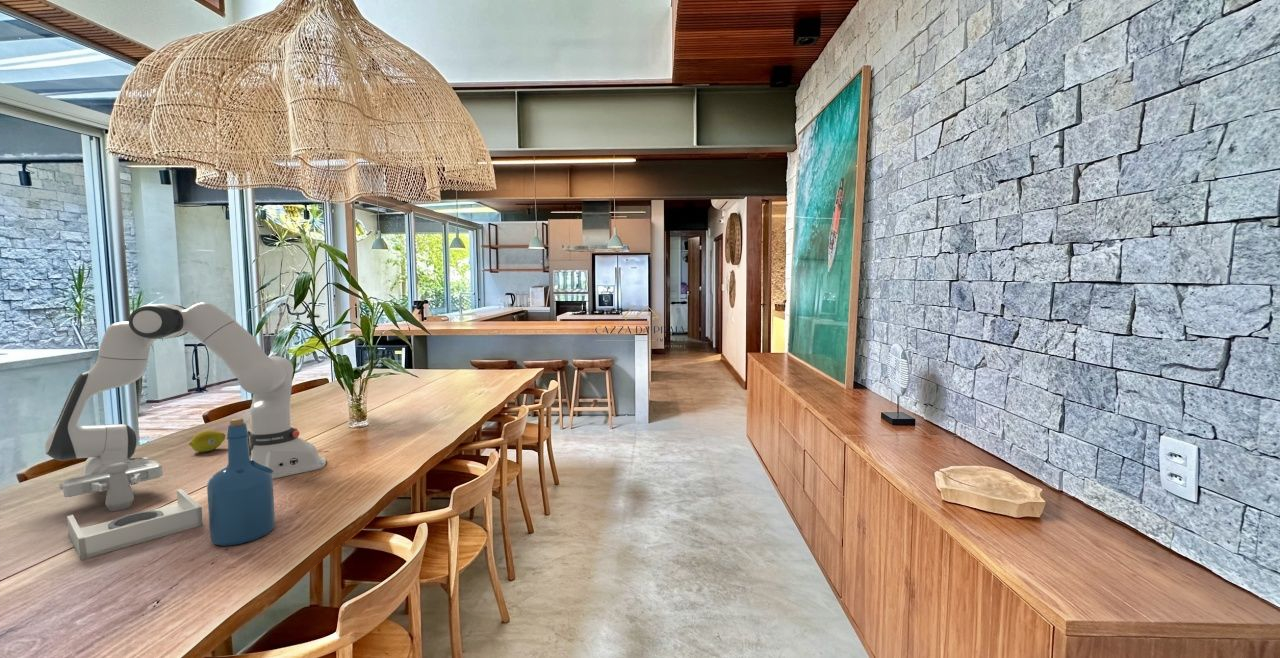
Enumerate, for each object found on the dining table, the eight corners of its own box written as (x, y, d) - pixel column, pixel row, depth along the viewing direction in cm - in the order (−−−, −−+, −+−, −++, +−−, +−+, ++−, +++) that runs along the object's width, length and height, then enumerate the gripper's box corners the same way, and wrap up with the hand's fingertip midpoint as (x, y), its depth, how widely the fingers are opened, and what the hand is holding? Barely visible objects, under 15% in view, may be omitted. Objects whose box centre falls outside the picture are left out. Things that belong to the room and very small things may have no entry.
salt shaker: (116, 513, 142) (112, 468, 141) (100, 511, 143) (96, 466, 142) (140, 504, 148) (136, 461, 147) (124, 503, 149) (121, 459, 148)
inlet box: (68, 535, 130) (67, 516, 129) (182, 505, 147) (181, 489, 147) (80, 560, 118) (78, 539, 117) (202, 525, 135) (201, 506, 135)
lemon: (190, 456, 190) (189, 435, 190) (188, 451, 196) (187, 431, 195) (227, 450, 198) (226, 430, 197) (225, 445, 203) (223, 426, 203)
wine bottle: (222, 553, 121) (214, 429, 118) (200, 539, 128) (192, 421, 125) (287, 530, 132) (281, 416, 130) (263, 518, 139) (257, 410, 137)
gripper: (56, 474, 144) (63, 485, 136) (155, 455, 160) (166, 464, 152) (58, 495, 145) (65, 508, 136) (156, 474, 161) (167, 484, 153)
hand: (119, 484), depth 144 cm, fingers open, 5 cm apart
